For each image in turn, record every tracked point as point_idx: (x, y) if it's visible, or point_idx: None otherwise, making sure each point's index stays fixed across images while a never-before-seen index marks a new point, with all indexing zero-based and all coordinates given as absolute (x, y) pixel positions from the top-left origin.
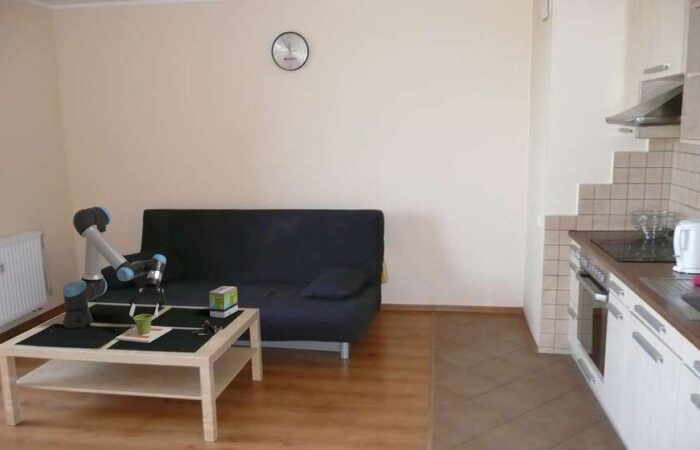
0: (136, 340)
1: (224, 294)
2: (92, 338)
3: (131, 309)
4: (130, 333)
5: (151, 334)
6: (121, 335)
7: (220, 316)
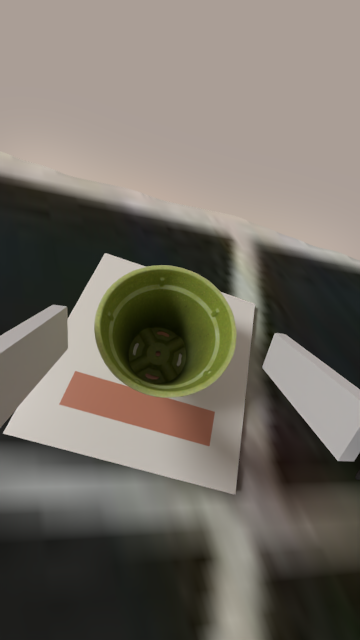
0: None
1: None
2: (337, 329)
3: (309, 357)
4: None
5: None
6: (245, 325)
7: None
